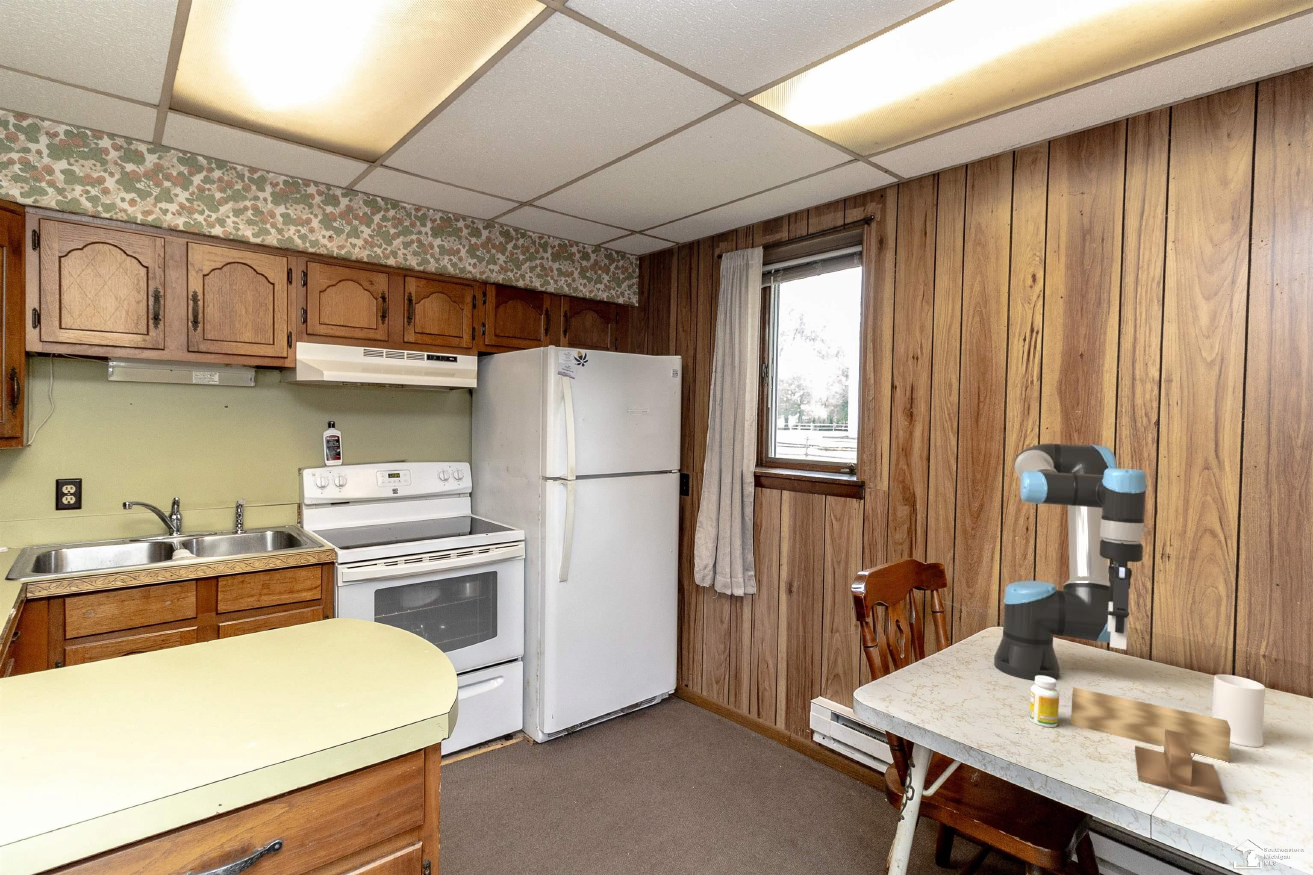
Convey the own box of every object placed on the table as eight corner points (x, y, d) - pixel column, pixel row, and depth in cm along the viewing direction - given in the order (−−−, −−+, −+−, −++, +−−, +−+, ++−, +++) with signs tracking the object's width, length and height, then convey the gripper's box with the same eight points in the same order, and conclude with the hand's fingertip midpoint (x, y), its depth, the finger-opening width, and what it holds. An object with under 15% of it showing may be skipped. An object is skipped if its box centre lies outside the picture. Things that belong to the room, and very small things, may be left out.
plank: (1070, 725, 142) (1072, 693, 142) (1071, 718, 146) (1073, 687, 146) (1228, 764, 127) (1230, 728, 127) (1225, 755, 131) (1226, 720, 131)
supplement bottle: (1023, 719, 144) (1025, 675, 144) (1039, 715, 146) (1041, 672, 146) (1047, 729, 139) (1049, 684, 139) (1063, 725, 141) (1065, 681, 141)
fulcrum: (1138, 780, 119) (1140, 747, 119) (1134, 750, 131) (1136, 720, 131) (1224, 803, 113) (1226, 769, 113) (1212, 770, 124) (1214, 738, 124)
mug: (1201, 719, 147) (1204, 666, 147) (1251, 729, 143) (1254, 674, 143) (1215, 740, 137) (1218, 683, 137) (1269, 751, 133) (1272, 692, 133)
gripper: (1148, 550, 128) (1143, 659, 128) (1138, 536, 149) (1133, 629, 149) (1102, 545, 132) (1096, 650, 132) (1098, 532, 153) (1094, 622, 153)
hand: (1116, 639), depth 140 cm, fingers open, 13 cm apart
